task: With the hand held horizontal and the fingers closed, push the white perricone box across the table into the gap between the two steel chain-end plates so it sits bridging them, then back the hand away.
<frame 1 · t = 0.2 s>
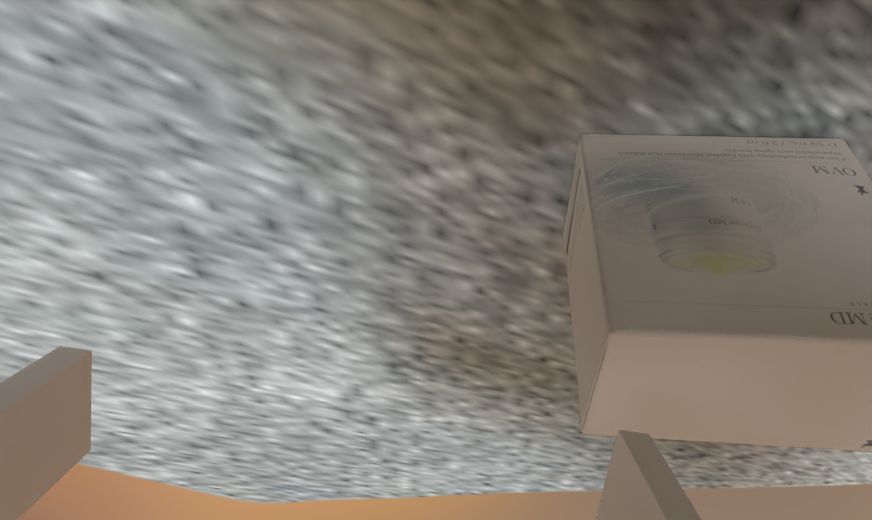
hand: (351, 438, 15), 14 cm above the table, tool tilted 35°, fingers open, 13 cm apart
skincare box 2: (688, 186, 26), on the table
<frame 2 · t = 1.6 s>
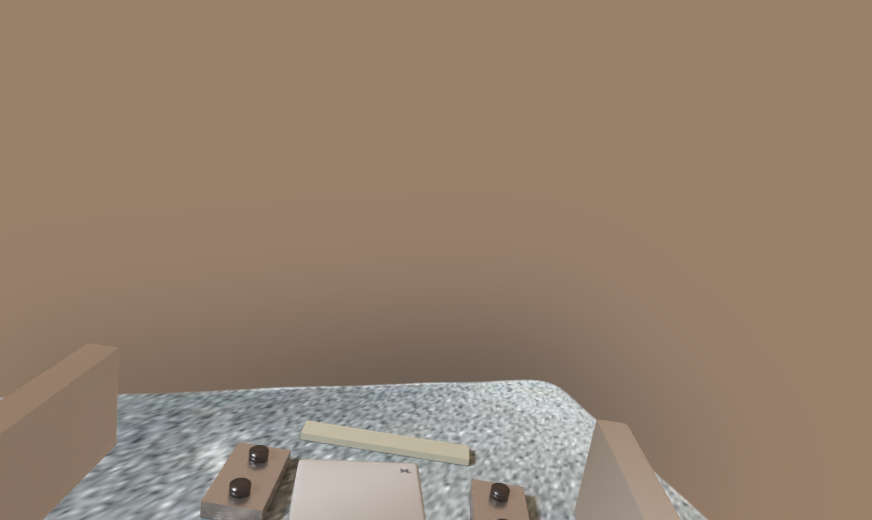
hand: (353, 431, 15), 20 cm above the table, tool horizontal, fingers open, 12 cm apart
chain end 2: (248, 488, 42), on the table
cream long thin bar: (385, 445, 50), on the table
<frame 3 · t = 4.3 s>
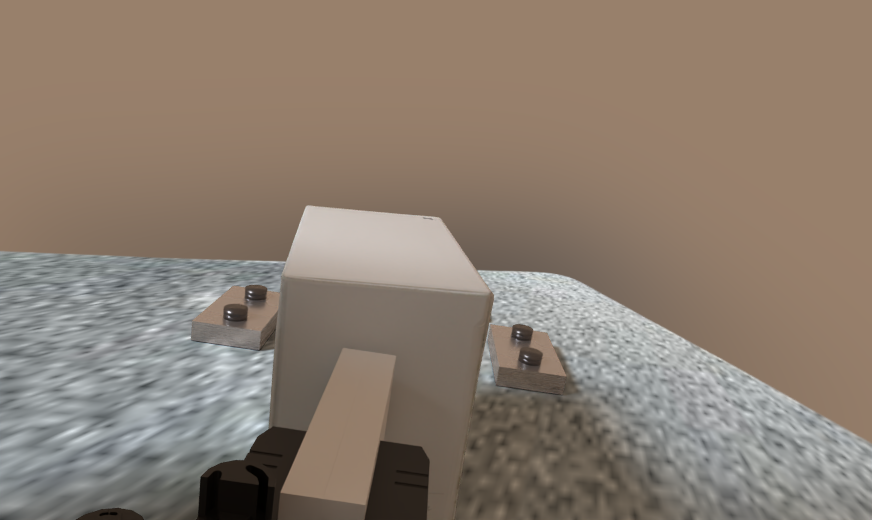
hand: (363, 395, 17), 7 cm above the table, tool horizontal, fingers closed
chain end 2: (244, 324, 38), on the table
skincare box 2: (349, 489, 24), on the table, touching gripper
chain end 1: (521, 365, 39), on the table
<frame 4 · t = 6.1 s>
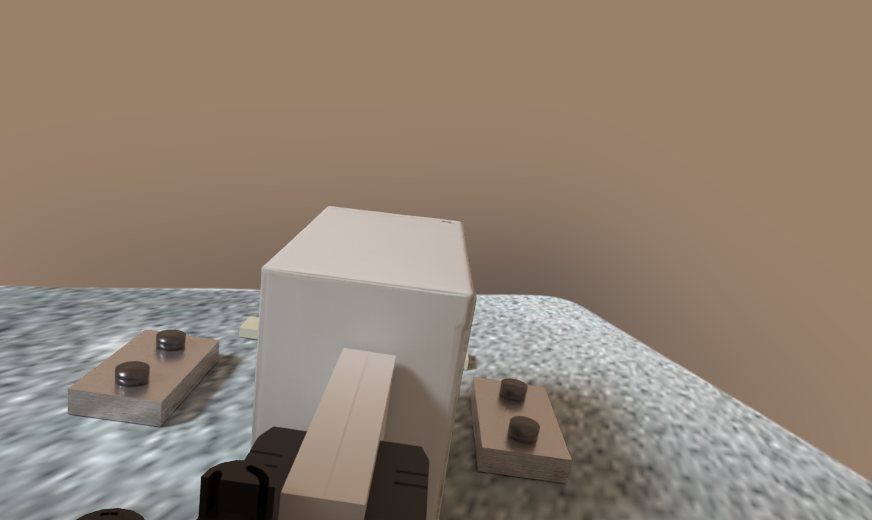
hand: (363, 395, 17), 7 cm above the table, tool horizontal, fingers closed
chain end 2: (151, 384, 29), on the table
skincare box 2: (352, 491, 24), on the table, touching gripper
cream long thin bar: (355, 347, 37), on the table
chain end 1: (512, 435, 30), on the table
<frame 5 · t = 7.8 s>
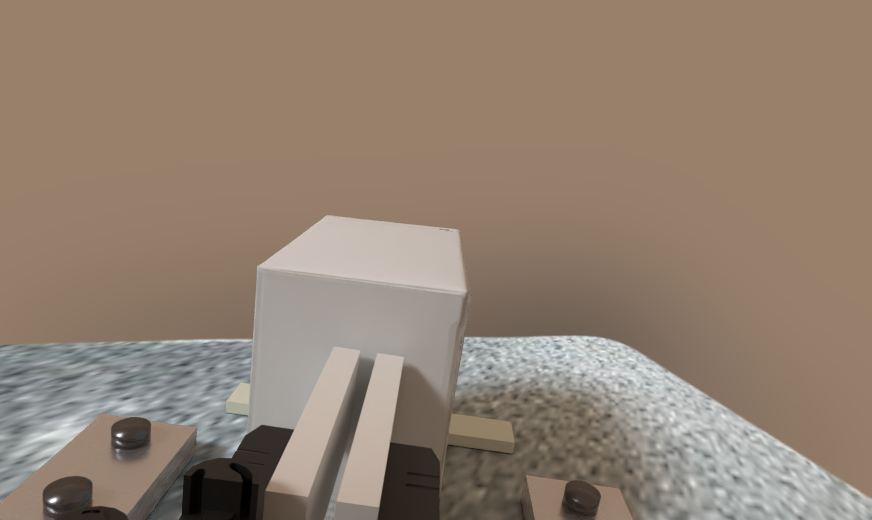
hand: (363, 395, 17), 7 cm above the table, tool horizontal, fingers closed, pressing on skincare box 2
chain end 2: (102, 497, 22), on the table
skincare box 2: (350, 501, 24), on the table, touching gripper, cream long thin bar
cream long thin bar: (372, 422, 30), on the table
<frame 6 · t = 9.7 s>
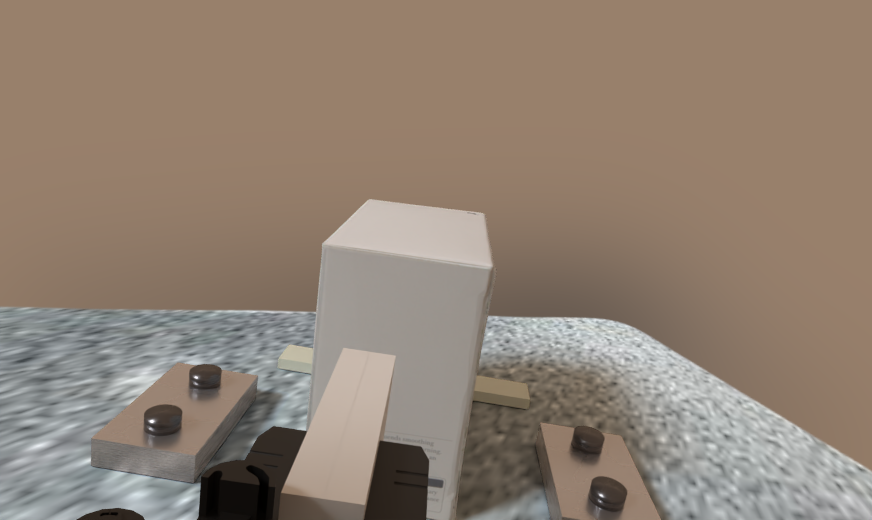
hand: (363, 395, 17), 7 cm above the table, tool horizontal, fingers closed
chain end 2: (184, 427, 26), on the table
skincare box 2: (388, 444, 28), on the table
cream long thin bar: (404, 380, 34), on the table
chain end 1: (589, 494, 26), on the table
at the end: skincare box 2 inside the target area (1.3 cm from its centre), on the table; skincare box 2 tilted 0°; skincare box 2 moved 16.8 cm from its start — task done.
